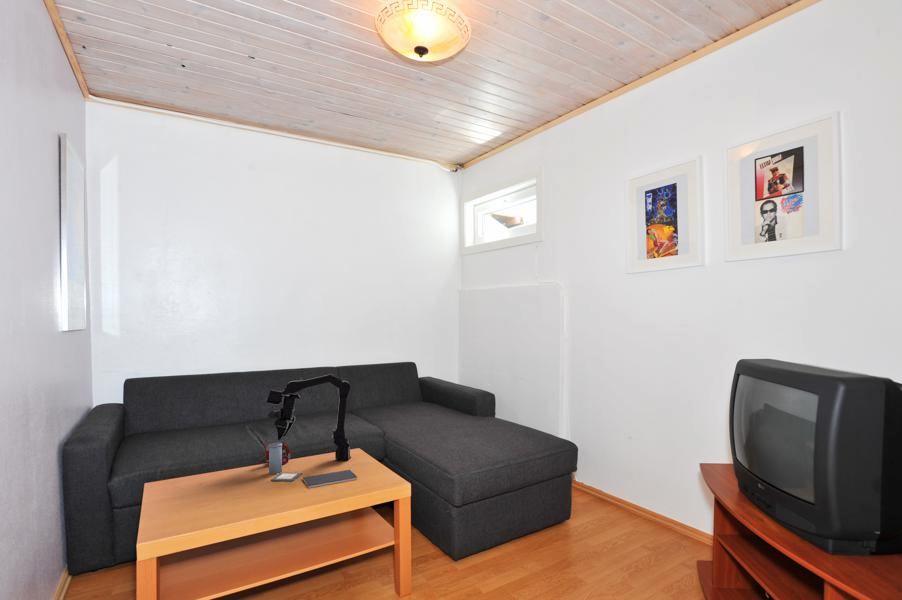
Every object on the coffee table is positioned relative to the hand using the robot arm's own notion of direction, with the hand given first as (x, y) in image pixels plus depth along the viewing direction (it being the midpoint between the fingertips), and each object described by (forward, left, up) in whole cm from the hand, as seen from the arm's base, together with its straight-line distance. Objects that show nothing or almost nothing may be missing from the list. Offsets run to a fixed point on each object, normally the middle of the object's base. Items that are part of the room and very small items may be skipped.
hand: (281, 438), depth 228 cm
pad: (-11, +18, -13) cm, 25 cm away
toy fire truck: (+4, -3, -14) cm, 14 cm away
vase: (-2, +11, -13) cm, 17 cm away
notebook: (-32, +19, -14) cm, 40 cm away
